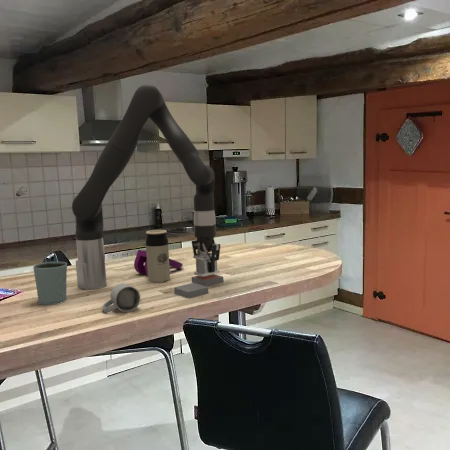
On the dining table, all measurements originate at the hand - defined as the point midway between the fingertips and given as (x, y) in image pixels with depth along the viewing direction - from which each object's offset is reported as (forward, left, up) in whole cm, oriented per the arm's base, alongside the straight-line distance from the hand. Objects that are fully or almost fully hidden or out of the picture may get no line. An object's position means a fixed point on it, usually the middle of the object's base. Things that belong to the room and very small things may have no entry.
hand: (206, 270), depth 176 cm
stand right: (0, 0, -4) cm, 4 cm away
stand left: (-12, -7, -4) cm, 14 cm away
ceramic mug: (-37, -6, -4) cm, 37 cm away
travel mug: (-10, +16, -4) cm, 19 cm away
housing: (0, 0, -1) cm, 1 cm away
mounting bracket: (-3, +26, -5) cm, 27 cm away
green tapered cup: (-48, +19, -4) cm, 52 cm away
